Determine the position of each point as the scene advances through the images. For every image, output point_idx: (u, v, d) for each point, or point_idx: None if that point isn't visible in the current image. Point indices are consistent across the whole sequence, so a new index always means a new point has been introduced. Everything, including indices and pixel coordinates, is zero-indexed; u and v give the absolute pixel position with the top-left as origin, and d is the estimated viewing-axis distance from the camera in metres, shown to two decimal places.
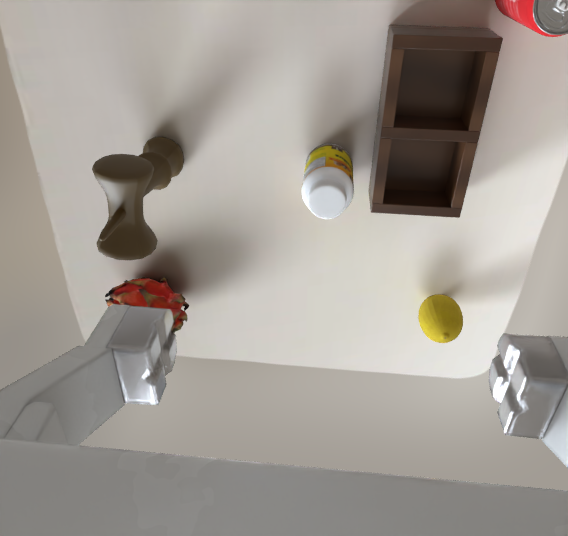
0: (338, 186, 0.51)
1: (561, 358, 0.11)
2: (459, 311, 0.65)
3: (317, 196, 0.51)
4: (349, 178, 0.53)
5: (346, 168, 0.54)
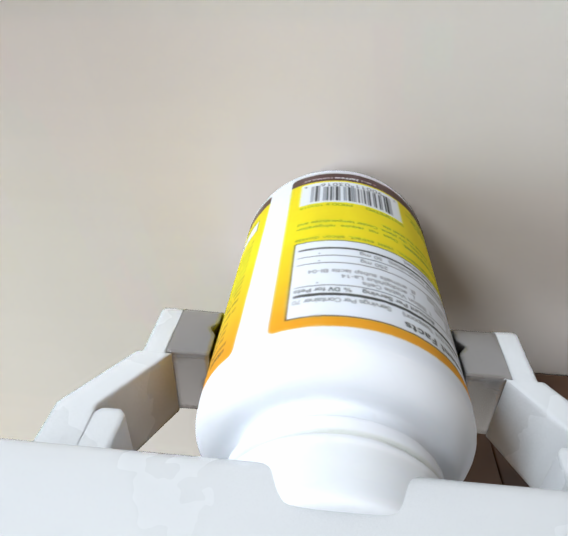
0: None
1: (503, 354, 0.11)
2: None
3: None
4: None
5: None
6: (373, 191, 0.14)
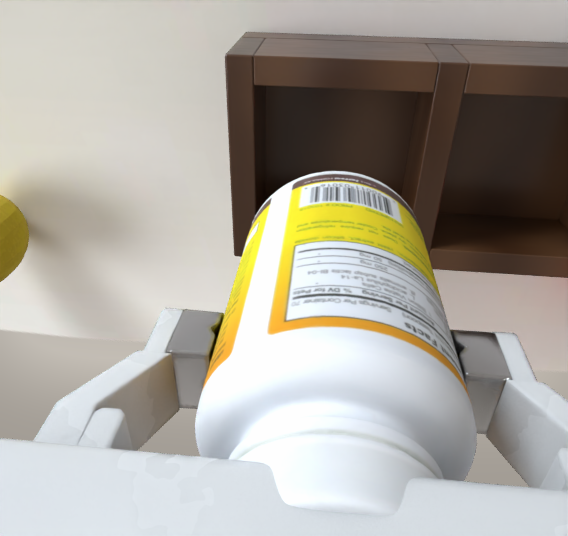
0: None
1: (502, 354, 0.11)
2: (4, 277, 0.29)
3: None
4: None
5: None
6: (373, 192, 0.14)
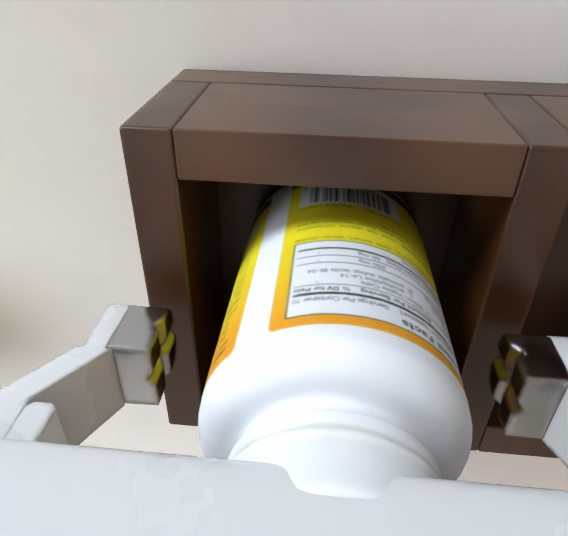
0: None
1: (561, 358, 0.11)
2: None
3: None
4: None
5: None
6: (372, 192, 0.14)
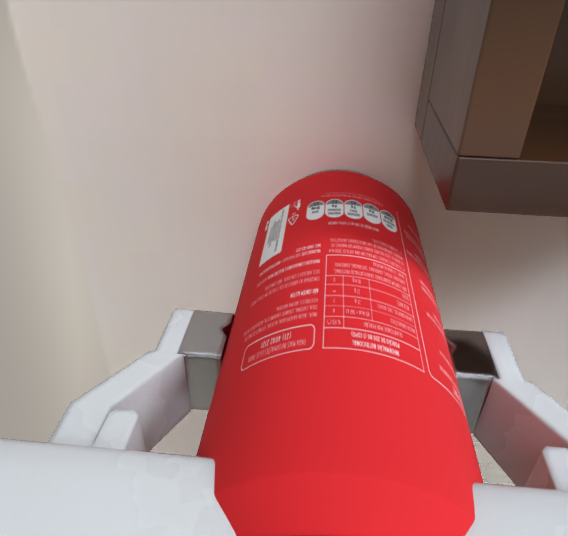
0: None
1: (490, 353, 0.11)
2: None
3: None
4: None
5: None
6: None
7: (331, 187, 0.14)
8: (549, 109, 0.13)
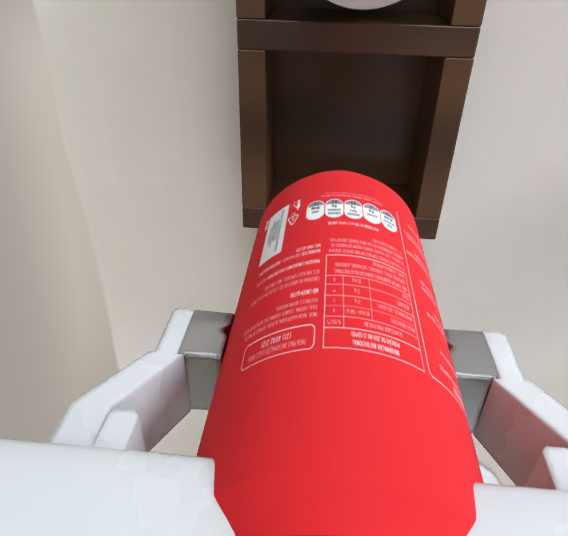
0: None
1: (490, 353, 0.11)
2: None
3: None
4: None
5: None
6: None
7: (331, 188, 0.14)
8: None
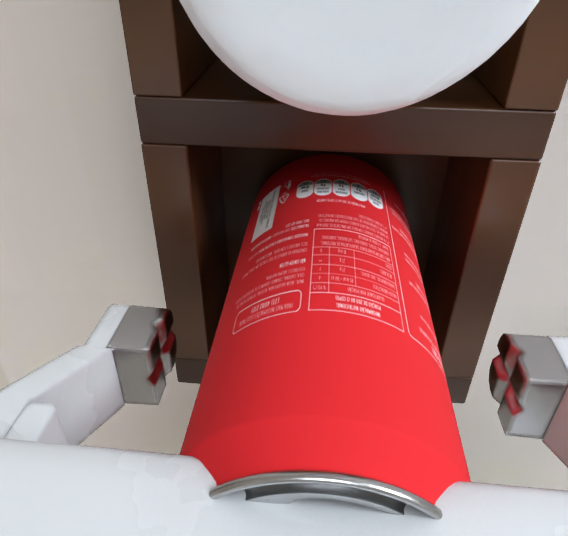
0: (258, 77, 0.06)
1: (561, 358, 0.11)
2: None
3: None
4: None
5: None
6: None
7: (321, 168, 0.15)
8: None
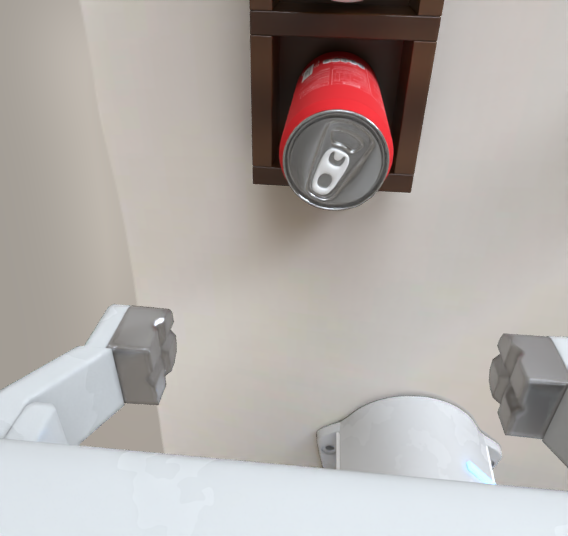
0: None
1: (561, 358, 0.11)
2: None
3: None
4: None
5: None
6: None
7: (334, 55, 0.29)
8: None
